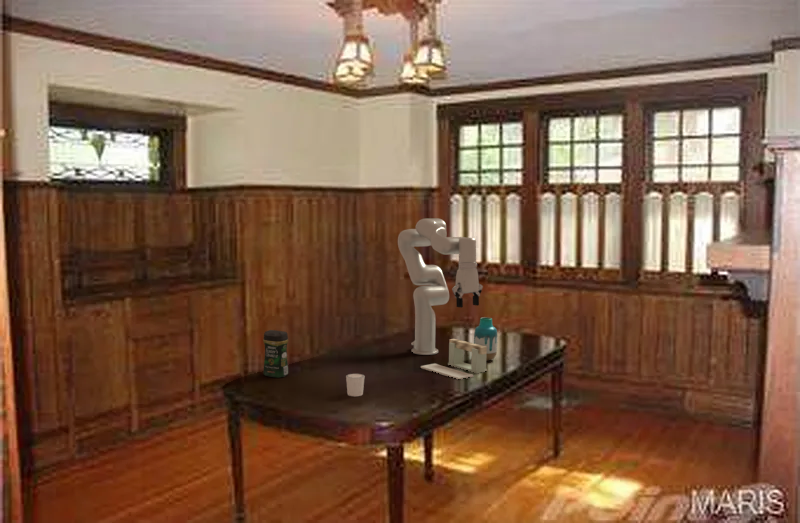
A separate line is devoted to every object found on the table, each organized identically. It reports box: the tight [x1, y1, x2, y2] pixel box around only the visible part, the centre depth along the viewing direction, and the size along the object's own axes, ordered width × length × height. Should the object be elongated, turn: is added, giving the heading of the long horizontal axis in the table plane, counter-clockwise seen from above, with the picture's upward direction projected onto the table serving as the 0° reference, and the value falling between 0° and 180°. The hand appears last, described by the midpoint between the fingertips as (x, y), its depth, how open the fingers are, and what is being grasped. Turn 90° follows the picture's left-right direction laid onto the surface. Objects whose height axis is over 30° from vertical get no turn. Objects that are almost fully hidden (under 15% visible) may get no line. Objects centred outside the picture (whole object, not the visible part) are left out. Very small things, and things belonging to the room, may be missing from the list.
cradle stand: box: [447, 343, 488, 374], centre depth 296 cm, size 18×6×10 cm, turn 38°
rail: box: [448, 338, 487, 355], centre depth 295 cm, size 20×3×3 cm, turn 38°
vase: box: [473, 316, 499, 362], centre depth 311 cm, size 11×11×19 cm
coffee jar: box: [262, 329, 289, 379], centre depth 280 cm, size 10×8×19 cm
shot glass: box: [345, 373, 366, 397], centre depth 255 cm, size 7×7×7 cm
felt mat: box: [420, 363, 474, 380], centre depth 289 cm, size 24×8×1 cm, turn 38°
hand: (467, 306), depth 296 cm, fingers open, 9 cm apart
